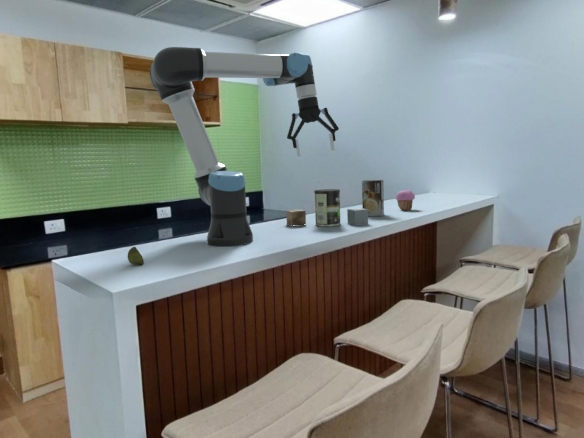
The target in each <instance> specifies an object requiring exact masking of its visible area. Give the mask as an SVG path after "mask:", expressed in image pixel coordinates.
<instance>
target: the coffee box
mask: <svg viewBox="0 0 584 438" xmlns="http://www.w3.org/2000/svg"><path fill="white" fill-rule="evenodd" d="M384 192H385V191H384V180H383V179H367V180H362V181H361V195H362V196H361V199H362V201H361V202H362V205H361V207H362V208H363V209H368V217H383V216H384V215H385V203H384V202H385V199H384V198H385V197H384V194H385V193H384Z"/></svg>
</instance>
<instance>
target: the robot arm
mask: <svg viewBox="0 0 584 438" xmlns="http://www.w3.org/2000/svg"><path fill="white" fill-rule="evenodd" d="M205 78H207V79H208V78H213V79H214V78H215V79H216V78H217V79H218V78H220V79H221V78H223V79H224V78H225V79H226V78H227V79H228V78H229V79H230V78H231V79H234V78H236V79H262V80H263V83H264V84H265V86H267V87H272V86H273V87H276V86H281V85H289V84H294V87H295V93H296V98H297V99H298V100H297V104H298V105H297V106H298V111H299V112H298V113H297V112H296V113H295V112H293V113H292V114H291V122H290V125H289V129H288V132H287V136H286V138H287V140H291V141H292V146H293V149H296V153H297V157H301V152H300V147H299V140H298V138H297V136H298V135H299V133H300V131H301V130H302V128H303V126H304V124H305V123H306V124H309V123H315V122H318V123H319V124H321V126H323V127H324V128H325V129H326V131H328V132H330V133H328V136H329V143H330V150H331V151H335V143H334V142H336V132H337V131H339V130H340V128H339V126H338V125H337V124H336V122H335V121H334V119H333V118H332V116H331V115H330V113H329V110H328V107H324V108H322V109H320V107H319V101H318V97H317V89H316V83H315V76H314V69H313V62H312V59H311V56H310V54H306V53H302V52H299V51H295V52H292V53H290V54H275V53H274V54H272V53H269V54H267V53H245V52H244V53H243V52H218V51H217V52H216V51H215V52H214V51H204V50H203V49H202V48H201V47H188V46H187V47H183V46H169V47H164V48H162V49H161V50H160V51H159V52H157V53H156V55H154V59H153V62H152V63H151V65H150V68H149V79H150V82H151V84H152V85H153V87H154V88H155V90H156V91H157V93H158V95H159V97H160V99H161V102H163V103H165V104H166V105H168V106H169V109H170V111H171V114H172V116H173V119H174V122H175V123H176V126H177V128H178V131H179V133H180V137H181V138H182V140H183V143H184V145H185V147H186V150H187V152H188V154H189V157H190V159H191V162H192V165H193V167H194V169H195V174H194V176H193V178H194V180H195V183H196V184H197V187H198V189H197V190H198V195H199V197H200V199H201V200H202V202H203V203H205V204H206V205H208V206H210V225H209V227H208V232H207V237H206V242H207V244H208V245H210V246H214V247H233V246H240V245H246V244H250V243H252V242H253V241H254V236H253V231H252V229H251V226H250V224H249V221H248V217H247V216H248V215H247V203H246V201H247V198H246V181H245V180H246V179H245V175H244V174H243V172H241V171H236V170H235V171H234V170H228V169H227V167H226V165H225V164H223V163H221V162H220V161H219V159H218V156H217V153H216V151H215V149H214V147H213V144H212V141H211V139H210V136H209V133H208V131H207V129H206V126H205V123H204V121H203V119H202V117H201V114H200V112H199V109H198V107H197V103H196V101H195V98H194V93H195V92H196V91H195V87H194V84H193V82H202V81H204V80H205ZM321 114H323V115H324V116H325V118H326V119H327V121H328V122H329V124H330V125H329V124H328V123H327V122H326V121H324V119H322V118H321V116H320V115H321ZM298 118H300V119H301V120H300V122H299V125H298V126H297V127H296V129H295V132H294V134H293V130H294V127H295V123H296V120H297V119H298ZM331 126H332V127H331ZM292 134H293V135H292Z"/></svg>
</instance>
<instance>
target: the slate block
mask: <svg viewBox="0 0 584 438" xmlns="http://www.w3.org/2000/svg"><path fill="white" fill-rule="evenodd" d="M346 213H347V216H346V217H347V224H349V225H351V226H363V225H369V216H368V209H363V207H357V208H355V207H354V208H353V207H352V208H347V211H346Z"/></svg>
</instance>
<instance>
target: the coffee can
mask: <svg viewBox="0 0 584 438" xmlns="http://www.w3.org/2000/svg"><path fill="white" fill-rule="evenodd" d="M340 191H341V190H340V189H338V188H337V189H336V188H335V189H334V188H332V189H331V188H328V189H327V188H326V189H325V188H324V189H316V190H314V191H313V193H314V212H315V213H314V214H315V217H314V219H315V226H316V225H317V227H337V226H340V225H341V198H340V196H341V194H340Z"/></svg>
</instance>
